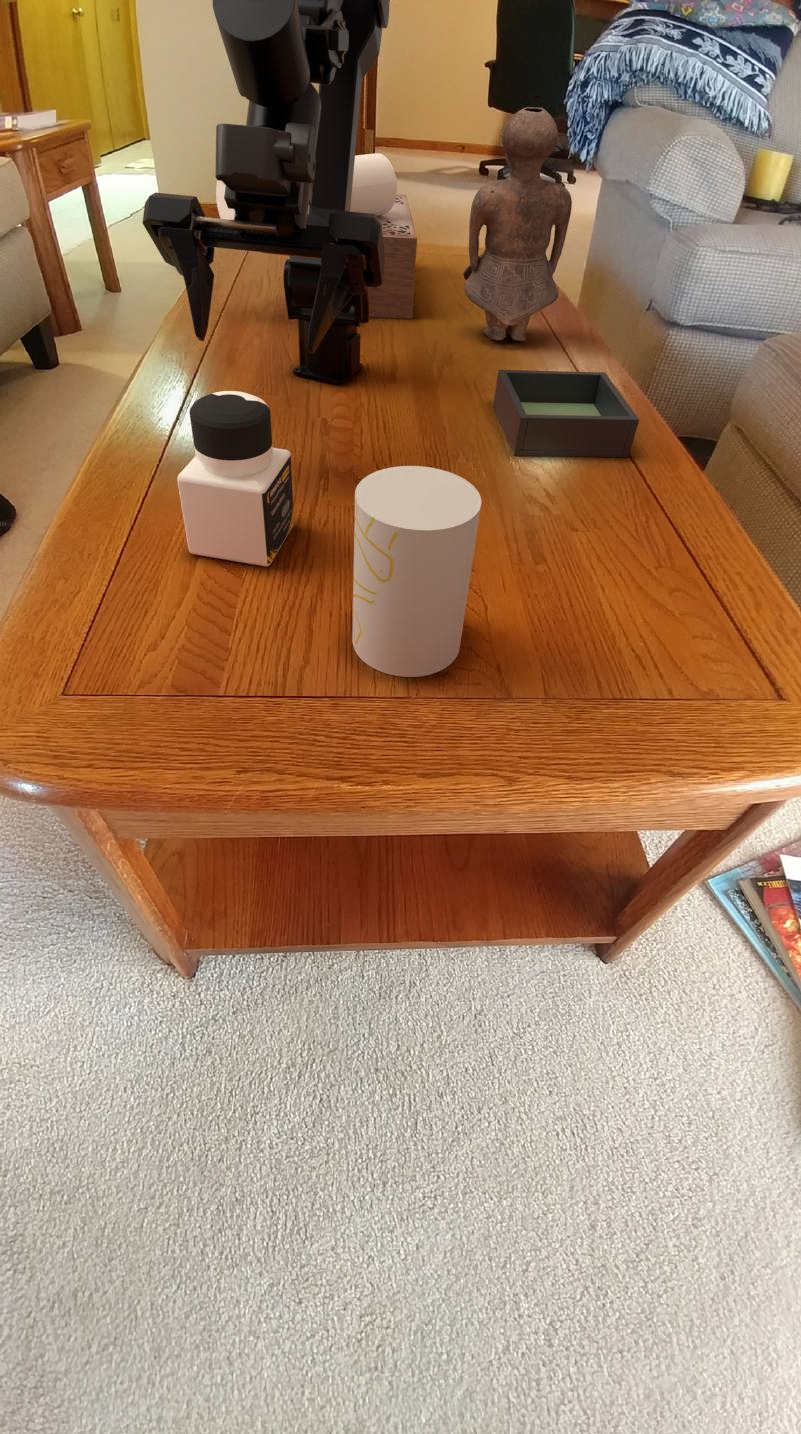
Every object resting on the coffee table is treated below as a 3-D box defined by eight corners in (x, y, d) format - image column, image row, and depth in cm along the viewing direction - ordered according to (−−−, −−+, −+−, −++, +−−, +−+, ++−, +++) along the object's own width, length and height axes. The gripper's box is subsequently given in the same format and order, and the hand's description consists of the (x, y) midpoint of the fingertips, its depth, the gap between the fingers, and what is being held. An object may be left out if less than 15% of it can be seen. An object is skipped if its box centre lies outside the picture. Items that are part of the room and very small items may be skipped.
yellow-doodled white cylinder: (350, 607, 59) (352, 464, 51) (452, 607, 60) (471, 466, 52) (354, 677, 54) (357, 529, 45) (467, 676, 54) (491, 530, 46)
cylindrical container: (256, 236, 93) (400, 212, 106) (242, 165, 89) (392, 149, 102) (225, 241, 97) (366, 217, 110) (209, 174, 93) (358, 157, 106)
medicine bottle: (269, 568, 62) (258, 427, 54) (187, 555, 63) (164, 413, 55) (295, 525, 67) (289, 389, 59) (219, 512, 68) (202, 377, 60)
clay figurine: (540, 326, 109) (579, 105, 91) (558, 351, 102) (604, 117, 84) (452, 324, 107) (475, 98, 89) (464, 349, 100) (491, 111, 83)
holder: (514, 455, 79) (520, 417, 76) (493, 405, 88) (498, 369, 85) (628, 457, 81) (639, 419, 78) (596, 407, 90) (605, 372, 87)
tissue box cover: (412, 318, 108) (417, 238, 101) (310, 314, 107) (308, 232, 99) (402, 266, 126) (405, 194, 119) (315, 261, 125) (313, 189, 117)
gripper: (126, 56, 53) (99, 274, 54) (386, 79, 53) (358, 301, 53) (179, 170, 65) (156, 351, 65) (394, 191, 64) (371, 374, 64)
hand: (254, 344), depth 61 cm, fingers open, 9 cm apart
